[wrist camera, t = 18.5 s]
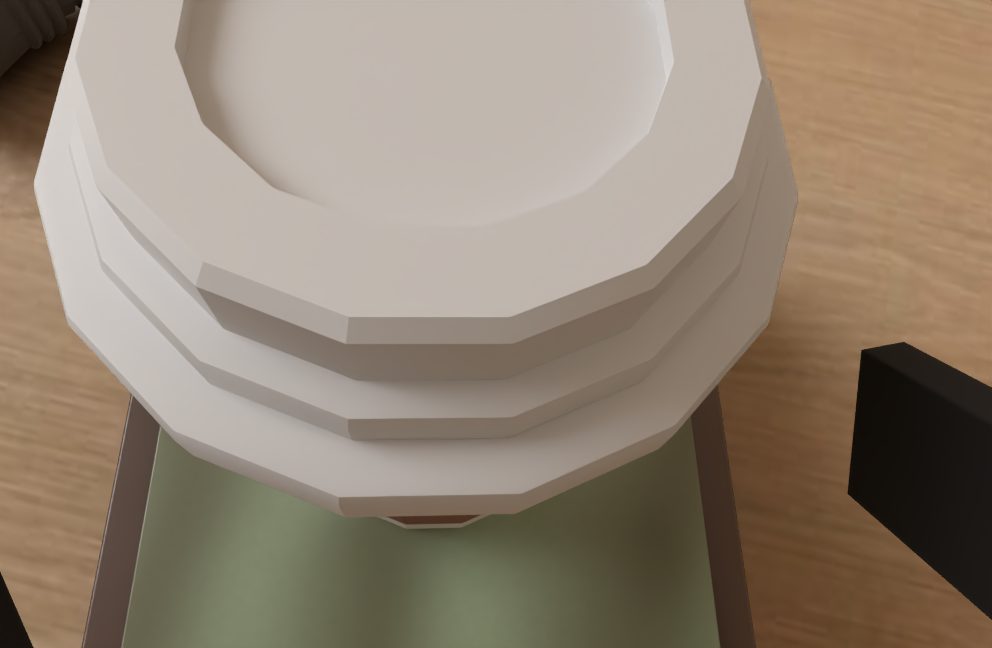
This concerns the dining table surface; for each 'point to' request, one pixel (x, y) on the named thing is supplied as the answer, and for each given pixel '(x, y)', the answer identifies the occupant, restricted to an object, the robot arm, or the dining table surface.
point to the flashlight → (30, 26)
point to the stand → (421, 560)
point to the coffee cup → (417, 234)
